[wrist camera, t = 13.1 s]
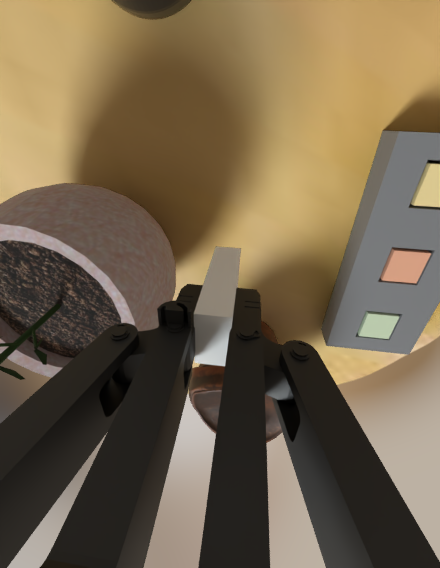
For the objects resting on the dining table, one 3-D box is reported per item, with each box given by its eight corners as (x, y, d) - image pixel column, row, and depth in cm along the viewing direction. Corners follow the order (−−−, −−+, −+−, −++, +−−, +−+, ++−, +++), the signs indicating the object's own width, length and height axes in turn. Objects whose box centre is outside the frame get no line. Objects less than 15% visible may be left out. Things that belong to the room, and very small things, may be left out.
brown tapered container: (251, 384, 61) (250, 470, 46) (182, 338, 56) (155, 418, 41) (312, 345, 53) (335, 434, 38) (238, 287, 48) (230, 363, 33)
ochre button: (415, 160, 34) (430, 163, 31) (455, 162, 33) (474, 166, 30) (400, 198, 36) (413, 205, 33) (437, 201, 36) (454, 208, 33)
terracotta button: (384, 241, 39) (394, 250, 36) (417, 243, 39) (431, 253, 36) (373, 269, 42) (382, 280, 39) (404, 272, 41) (416, 283, 38)
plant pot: (181, 312, 52) (111, 489, 27) (64, 283, 52) (-119, 434, 27) (203, 191, 40) (109, 310, 14) (48, 151, 39) (-331, 201, 14)
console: (382, 130, 33) (399, 131, 29) (502, 135, 32) (535, 137, 28) (321, 328, 51) (326, 345, 47) (397, 336, 49) (409, 354, 46)
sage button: (360, 301, 45) (368, 313, 42) (390, 303, 45) (399, 316, 42) (352, 322, 48) (358, 336, 45) (380, 325, 47) (388, 339, 44)
